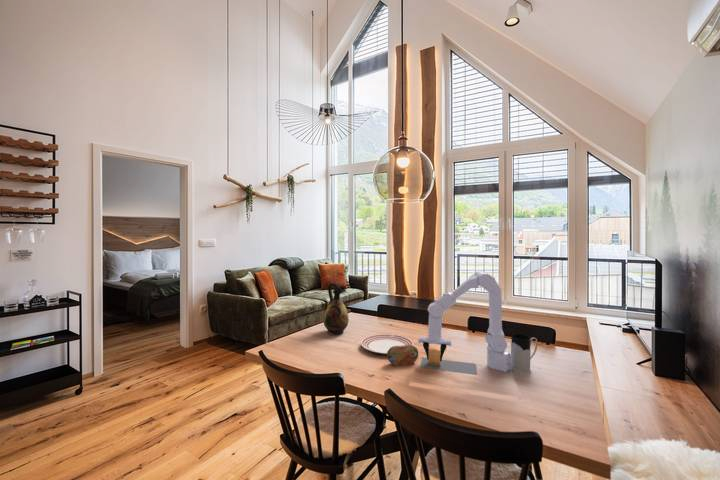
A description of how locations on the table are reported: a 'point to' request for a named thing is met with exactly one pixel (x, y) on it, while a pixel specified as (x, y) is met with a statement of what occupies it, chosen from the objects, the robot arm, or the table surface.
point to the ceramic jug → (335, 312)
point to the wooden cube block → (434, 355)
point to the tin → (402, 354)
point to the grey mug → (521, 353)
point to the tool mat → (451, 366)
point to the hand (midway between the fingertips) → (434, 359)
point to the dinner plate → (384, 342)
